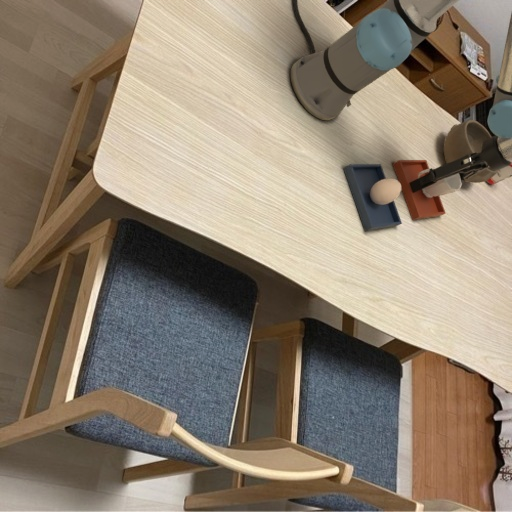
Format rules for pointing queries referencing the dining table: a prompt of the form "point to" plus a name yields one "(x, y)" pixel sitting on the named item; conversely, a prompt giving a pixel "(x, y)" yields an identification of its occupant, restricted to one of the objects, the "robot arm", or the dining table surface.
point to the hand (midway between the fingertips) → (423, 187)
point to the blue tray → (360, 185)
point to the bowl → (467, 146)
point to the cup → (442, 185)
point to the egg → (385, 191)
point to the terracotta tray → (418, 200)
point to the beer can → (501, 175)
